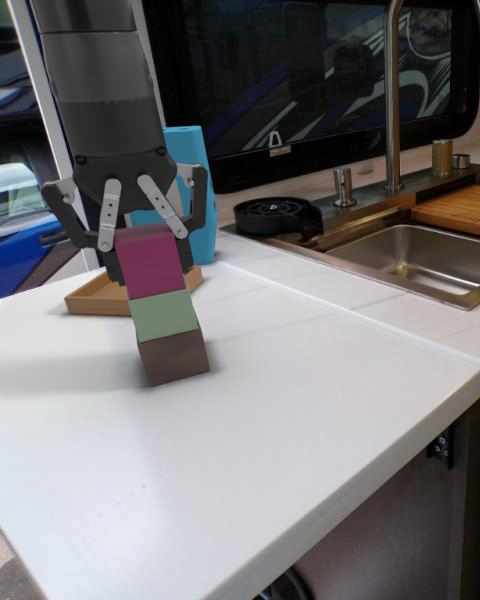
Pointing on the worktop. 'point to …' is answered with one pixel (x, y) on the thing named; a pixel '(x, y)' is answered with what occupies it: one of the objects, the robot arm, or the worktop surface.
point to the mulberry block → (149, 260)
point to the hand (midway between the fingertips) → (154, 276)
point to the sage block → (163, 314)
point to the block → (188, 191)
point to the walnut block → (174, 356)
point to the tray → (112, 295)
